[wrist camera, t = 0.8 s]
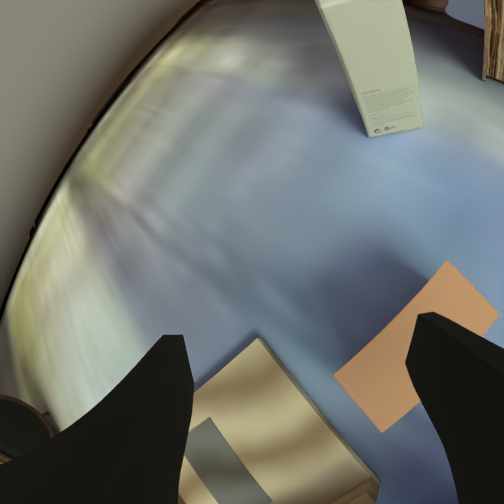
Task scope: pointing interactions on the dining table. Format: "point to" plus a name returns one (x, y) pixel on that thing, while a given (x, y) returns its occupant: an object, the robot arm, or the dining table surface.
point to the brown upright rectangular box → (494, 40)
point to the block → (398, 341)
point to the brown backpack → (21, 428)
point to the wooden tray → (266, 442)
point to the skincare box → (376, 61)
